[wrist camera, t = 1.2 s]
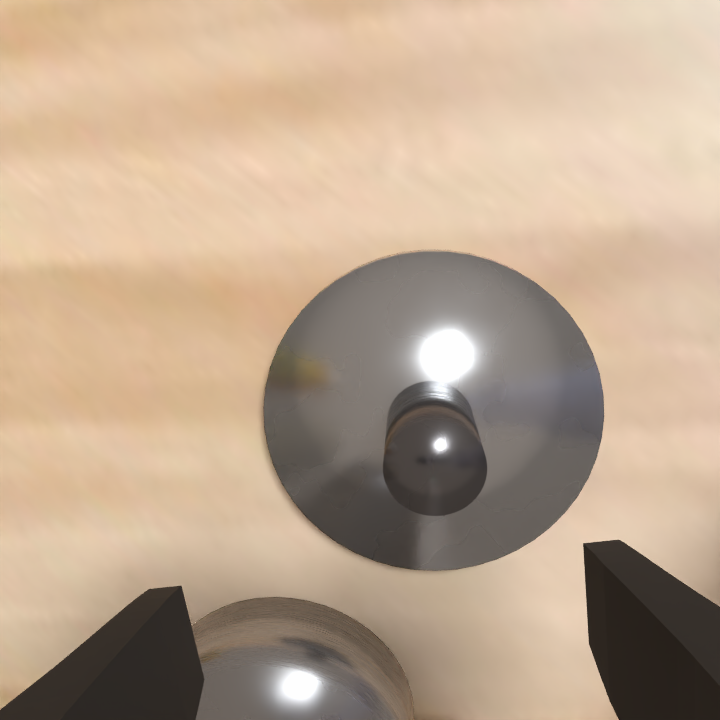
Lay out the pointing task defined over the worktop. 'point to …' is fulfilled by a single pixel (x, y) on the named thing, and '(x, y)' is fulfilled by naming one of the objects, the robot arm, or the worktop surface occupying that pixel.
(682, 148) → the worktop surface
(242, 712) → the pot
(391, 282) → the lid
